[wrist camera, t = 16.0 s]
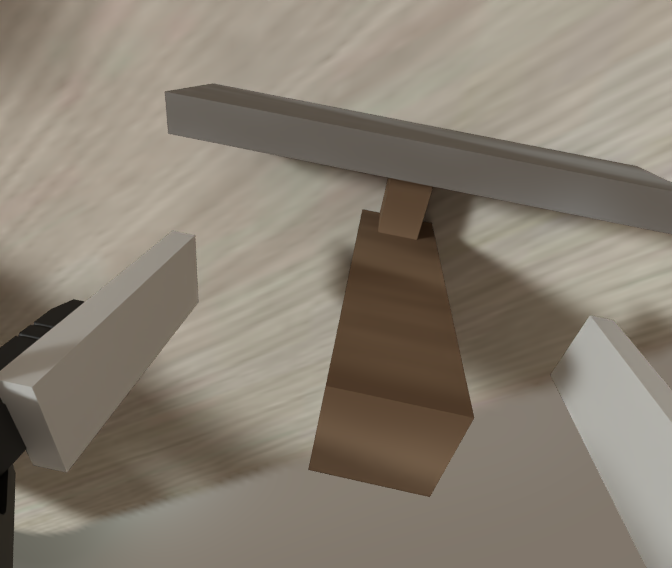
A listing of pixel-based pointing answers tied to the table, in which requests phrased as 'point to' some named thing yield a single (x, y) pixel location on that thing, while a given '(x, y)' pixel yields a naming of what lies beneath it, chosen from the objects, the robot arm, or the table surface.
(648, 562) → the robot arm
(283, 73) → the table surface
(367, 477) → the scraper
